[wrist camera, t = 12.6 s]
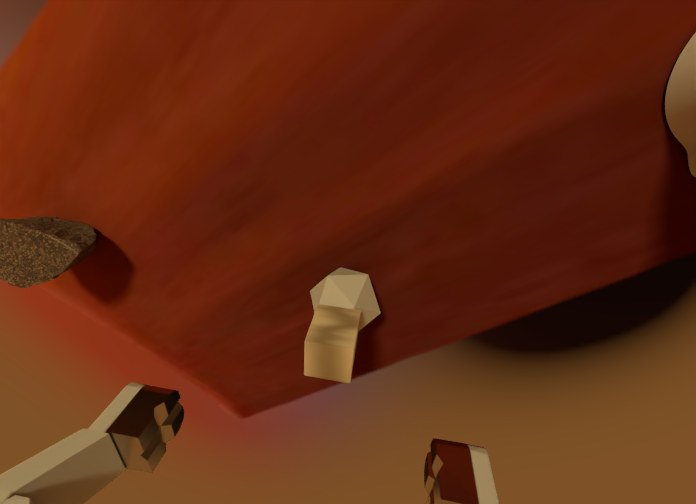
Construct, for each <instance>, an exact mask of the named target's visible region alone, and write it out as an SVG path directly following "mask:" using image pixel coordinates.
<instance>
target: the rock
mask: <svg viewBox="0 0 696 504" xmlns="http://www.w3.org/2000/svg"><path fill="white" fill-rule="evenodd" d="M96 238H97V234H96V233H95V232H94V229H93V228H92V227H91V226H90V225H87V224H84V223H80V222H73V221H65V220H63V219H57V217H52V218H49V217H31V218H26V219H0V279H2V280H3V281H5V282H6V283H8V284H10V285H13V286H17V287H20V288H28V287H29V286H32V285H33V284H40V283H42V282H45V281H49V280H52V279H55V278H56V277H58V276H59V275H60V274H62V273H64V272H65V271H67V270H68V269H70V268H72V267H73V266H75V265H76V264H78V263H80V262H81V261H82V260H83V259H84V258H85V257H87V256H88V255H90V254H91V252H93V251H94V250H95V248H96V247H97V243H96Z"/></svg>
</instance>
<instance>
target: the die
mask: <svg viewBox="0 0 696 504" xmlns="http://www.w3.org/2000/svg"><path fill="white" fill-rule="evenodd" d="M310 292H311V297H312V303H313V308H314V313H315V311H316V309H317V306H318V304H322V305H328V306H335V307H341V308H347V309H353V310H360V311H361V315H360V323H359V331H360V330H361V329H362V328H363V327H365V326H366V325H367V324H368V323H369V322H370V321H372V320H373V319H374V318H375V317H376V316H378V315H379V314H380V313H381V312H380V309H379V306H378V303H377V300H376V297H375V294H374V291H373V288H372V285H371V282H370V279H369V276H368V274H364V273H361V272H357V271H353V270H349V269H345V268H341V267H340V268H339V269H337V270H335V271H334V272H332V273H331V274H329V275H328V276H327V277H325V278H324V279H323V280H322V281H321V282H320V283H319V284H317V285H316V286H315V287H314V288H313V289H312V290H310ZM359 331H358V332H359Z"/></svg>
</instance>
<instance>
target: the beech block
mask: <svg viewBox="0 0 696 504" xmlns="http://www.w3.org/2000/svg"><path fill="white" fill-rule="evenodd" d="M360 315H361V311H360V310H353V309H347V308H341V307H335V306H328V305H322V304H318V306H317V309H316V311H315V314H314V317H313V320H312V322H311V325H310V328H309V331H308V333H307V336H306V339H305V353H304V375H306V376H312V377H317V378H323V379H329V380H334V381H340V382H345V383H350V381H351V375H352V369H353V363H354V358H355V352H356V346H357V339H358V331H359V323H360Z"/></svg>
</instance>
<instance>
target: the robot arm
mask: <svg viewBox="0 0 696 504" xmlns="http://www.w3.org/2000/svg"><path fill="white" fill-rule="evenodd" d="M665 113H666V119H667V122H668V125H669V127H670V130H671V131H672V133H673V135H674V136H675V137H676V138H677V140H678V141H679V142H680V143H681V144H682V145H683V146H684V148H685V149H686V151H687V154H688V164H689V169H690V172H691V174H692V175H693V176H694V177H696V33H695V34H694V35H693V36H692V38H691V39H690V41H689V42H688V43H687V45H686V46H685V48H684V49H683V51H682V53H681V54H680V56H679V58H678V60H677V62H676V64H675V66H674V68H673V71H672V73H671V76H670V79H669V82H668V86H667V90H666V96H665ZM179 399H180V395H179V391H176V390H170V389H165V388H160V387H155V386H150V385H146V384H140V383H135V382H132V383H130V384H129V385H127V386H126V387H125V388H124V389H123V390H122V391H121V392H120V393H119V394H118V396H117V397H116V398H115V399H114V400H113V401H112V402H111V404H110V405H109V406H108V407H107V408H106V409H105V410H104V411H103V413H102V414H101V415H100V416H99V417H98V418H97V419H96V421H95V422H94V423H93V424H92V425H91V426H90V427H89V428H88V429H86V428H83V429H81V430H80V431H78V432H76V433H74V434H72V435H71V436H69V437H67V438H65V439H64V440H62V441H60V442H58V443H56V444H54V445H53V446H51V447H49V448H47V449H45V450H44V451H42V452H40V453H38V454H37V455H35V456H33V457H31V458H29V459H28V460H26V461H24V462H22V463H20V464H19V465H17V466H15V467H13V468H11V469H10V470H8V471H6V472H4V473H3V474H1V475H0V504H84V503H85V502H86V501H88V500H89V499H90V498H91V497H93V496H94V495H95V494H96V493H98V492H99V491H100V490H102V489H103V488H104V487H105V486H106V485H108V484H109V483H110V482H112V481H113V480H114V479H115V478H117V477H118V476H119V475H120V474H122V473H123V472H124V471H126V469H125V468H127V469H132V470H138V471H144V472H149V473H153V471H154V469H155V468H156V466H157V465H158V463H159V462H160V460H161V458H162V457H163V455H164V454H165V452H166V443H167V442H168V441H170V440H171V439H173V438H174V437H175V436H176V434H177V433H178V431H179V429H180V427H181V424H182V422H183V419H184V409H183V406H182V405H181V404H180V403H179V402H178V401H179ZM424 482H425V488H426V490H427V492H428V493H429V496H428V499H427V502H426V504H499V501H498V496H497V492H496V487H495V483H494V478H493V474H492V469H491V465H490V460H489V456H488V452H487V450H486V449H485V448H484V447H479V446H473V445H468V444H464V443H458V442H452V441H446V440H440V439H433V440H432V442H431V452H429V453H428V454H427V457H426V461H425V469H424Z"/></svg>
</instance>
